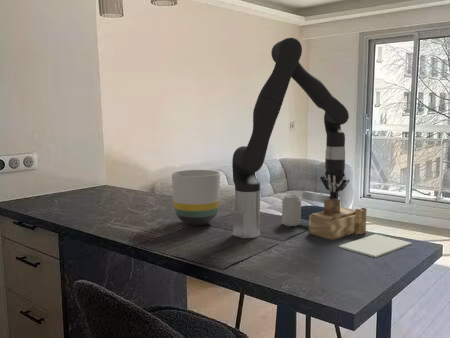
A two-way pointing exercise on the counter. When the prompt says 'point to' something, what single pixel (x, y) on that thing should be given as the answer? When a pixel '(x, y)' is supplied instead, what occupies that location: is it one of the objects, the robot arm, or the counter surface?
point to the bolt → (315, 196)
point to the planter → (196, 195)
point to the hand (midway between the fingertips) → (334, 201)
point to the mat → (375, 245)
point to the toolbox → (338, 225)
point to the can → (291, 210)
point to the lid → (333, 210)
